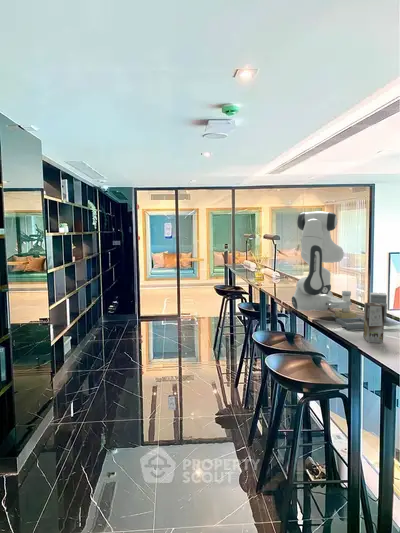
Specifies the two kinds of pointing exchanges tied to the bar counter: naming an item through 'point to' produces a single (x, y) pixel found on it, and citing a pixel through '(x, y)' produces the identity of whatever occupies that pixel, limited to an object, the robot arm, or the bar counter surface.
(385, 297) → the circuit breaker
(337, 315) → the block
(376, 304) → the coffee box
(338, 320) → the parts tray
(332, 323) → the bar counter surface
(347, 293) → the cylinder
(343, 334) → the bar counter surface
